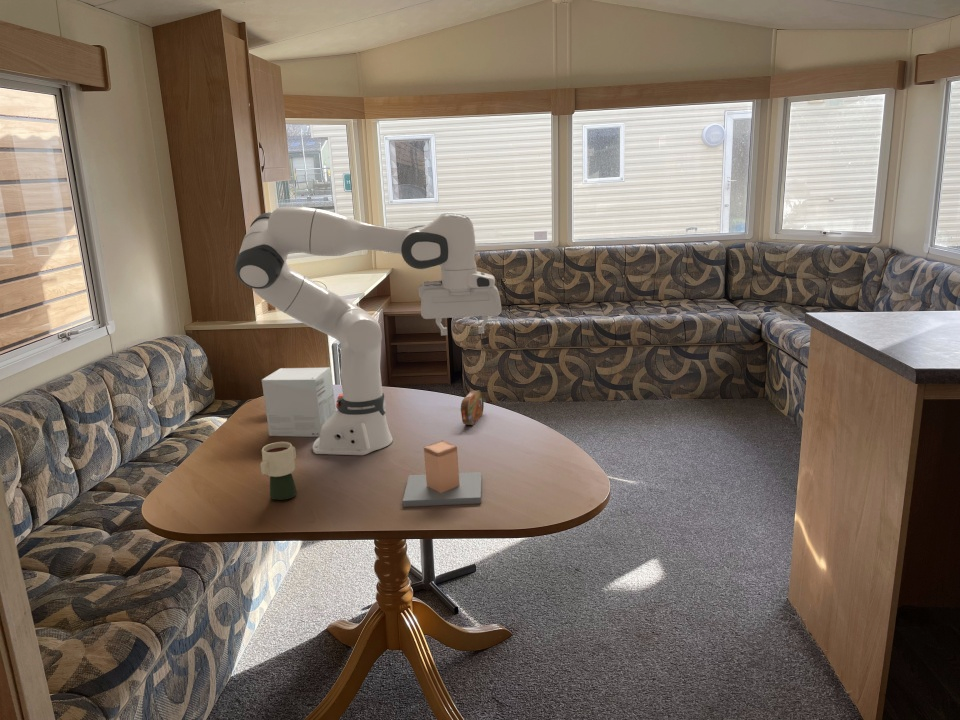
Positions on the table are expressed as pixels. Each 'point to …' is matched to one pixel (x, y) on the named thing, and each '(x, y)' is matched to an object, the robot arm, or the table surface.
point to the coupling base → (426, 496)
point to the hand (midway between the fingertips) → (462, 334)
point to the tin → (472, 407)
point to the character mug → (279, 469)
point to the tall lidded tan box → (441, 466)
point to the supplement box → (298, 401)
